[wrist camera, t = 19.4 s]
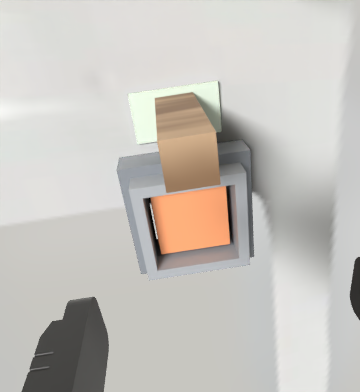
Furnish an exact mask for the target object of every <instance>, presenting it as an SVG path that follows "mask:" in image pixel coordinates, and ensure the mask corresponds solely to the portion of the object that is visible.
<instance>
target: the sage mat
mask: <svg viewBox="0 0 360 392" xmlns="http://www.w3.org/2000/svg"><path fill="white" fill-rule="evenodd" d="M190 92H193V94H194V95H195V97H196V99H197V100H198V102H199V104H200V105H201V107H202V109H203V111H204V112H205V114H206V116H207V117H208V119H209V121H210V122H211V124H212V126H213V128H214V129H215V131H216V133H217V132H222V129H221V115H220V101H219V88H218V81H211V82H204V83H197V84H190V85H184V86H177V87H170V88H163V89H157V90H150V91H143V92H136V93H130V94H128V99H129V104H130V109H131V114H132V119H133V124H134V129H135V134H136V139H137V144H143V143H150V142H157V129H156V113H155V98H158V97H164V96H171V95H177V94H183V93H190Z"/></svg>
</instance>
